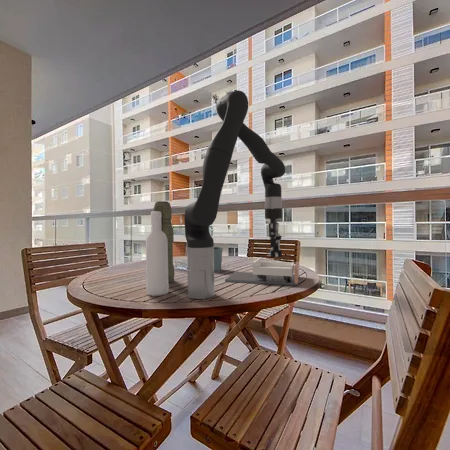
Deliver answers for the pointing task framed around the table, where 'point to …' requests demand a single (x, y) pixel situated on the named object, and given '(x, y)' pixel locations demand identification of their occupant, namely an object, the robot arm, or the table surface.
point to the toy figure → (276, 248)
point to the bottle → (156, 258)
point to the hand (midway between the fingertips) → (274, 246)
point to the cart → (273, 268)
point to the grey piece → (265, 278)
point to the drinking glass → (217, 258)
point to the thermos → (167, 233)
